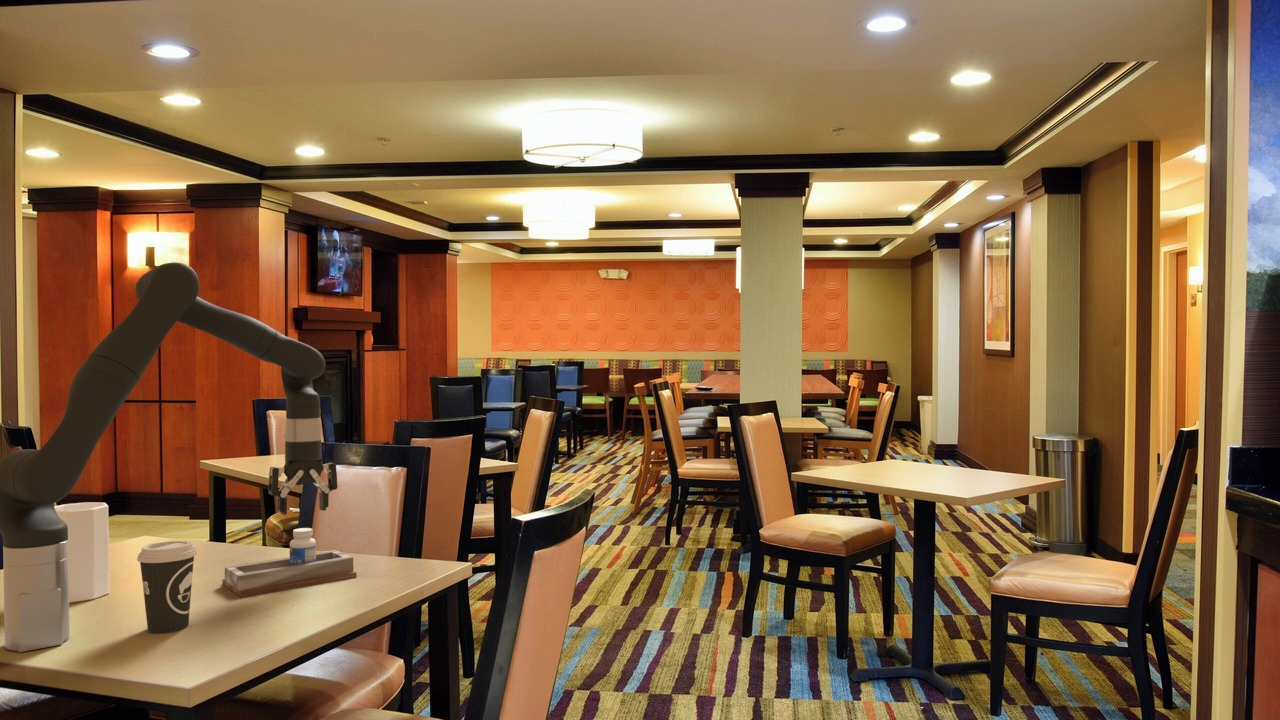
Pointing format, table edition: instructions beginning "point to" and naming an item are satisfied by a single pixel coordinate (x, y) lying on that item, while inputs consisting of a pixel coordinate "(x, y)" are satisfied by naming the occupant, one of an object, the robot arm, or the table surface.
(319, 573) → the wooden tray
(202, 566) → the table surface
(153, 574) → the coffee cup
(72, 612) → the table surface
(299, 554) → the pill bottle
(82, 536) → the cup
